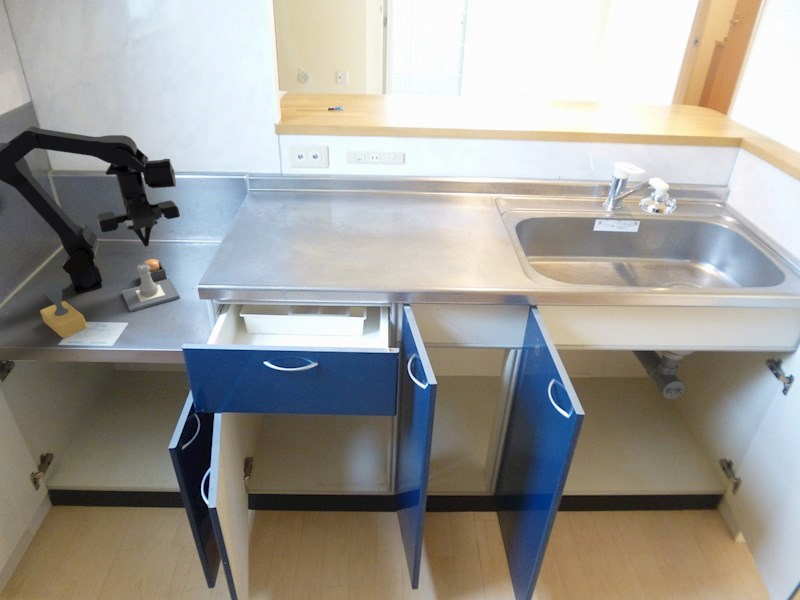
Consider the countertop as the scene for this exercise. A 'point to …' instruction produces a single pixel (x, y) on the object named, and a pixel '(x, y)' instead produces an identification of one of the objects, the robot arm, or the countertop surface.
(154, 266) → the button
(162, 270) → the button housing
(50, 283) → the rubber stamp
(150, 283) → the rook chess piece
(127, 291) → the slate board
